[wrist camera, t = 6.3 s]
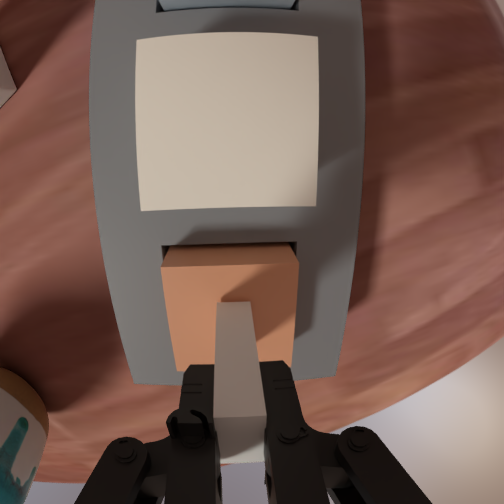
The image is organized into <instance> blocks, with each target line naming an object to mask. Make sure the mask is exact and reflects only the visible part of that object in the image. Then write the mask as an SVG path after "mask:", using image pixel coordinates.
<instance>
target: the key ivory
mask: <svg viewBox="0 0 504 504" xmlns="http://www.w3.org/2000/svg"><path fill="white" fill-rule="evenodd" d="M135 121H136V150H137V168H138V183H139V196H140V207H141V211H154V210H175V209H199V208H229V207H282V206H316V197H317V173H318V136H319V64H318V37H315V36H306V35H295V34H282V33H261V32H215V33H195V34H182V35H171V36H161V37H153V38H146V39H139V40H137V42H136V69H135Z"/></svg>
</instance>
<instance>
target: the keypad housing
mask: <svg viewBox="0 0 504 504" xmlns="http://www.w3.org/2000/svg"><path fill="white" fill-rule="evenodd" d="M215 32H261V33H282V34H295V35H306V36H315V37H318V64H319V136H318V173H317V197H316V206H282V207H229V208H199V209H175V210H154V211H141V207H140V196H139V183H138V168H137V150H136V121H135V69H136V42H137V40H139V39H146V38H153V37H161V36H171V35H182V34H195V33H215ZM89 126H90V149H91V164H92V176H93V187H94V197H95V205H96V213H97V221H98V228H99V235H100V241H101V248H102V254H103V259H104V265H105V270H106V275H107V280H108V285H109V290H110V295H111V299H112V304H113V308H114V312H115V317H116V321H117V325H118V329H119V333H120V336H121V340H122V344H123V348H124V351H125V355H126V358H127V362H128V365H129V368H130V372H131V375H132V378H133V381H134V384H152V385H182V381H183V374H184V372H185V371H177V369H176V363H175V358H174V353H173V347H172V341H171V336H170V330H169V324H168V317H167V311H166V304H165V297H164V290H163V283H162V275H161V265H162V263H163V260H164V258H165V256H166V254H167V252H168V249H169V247H170V245H190V244H222V243H256V242H288V243H289V245H290V247H291V249H292V250H293V252H294V254H295V256H296V258H297V260H298V262H299V274H298V289H297V304H296V317H295V329H294V341H293V352H292V363H291V367H290V369H291V372H292V376H293V381H295V380H305V379H315V378H323V377H331V376H335V375H336V370H337V365H338V361H339V356H340V351H341V345H342V340H343V335H344V329H345V324H346V318H347V312H348V306H349V299H350V293H351V286H352V279H353V272H354V264H355V256H356V248H357V239H358V229H359V219H360V208H361V196H362V182H363V165H364V143H365V58H364V37H363V22H362V9H361V0H295V2H294V3H293V5H292V7H291V9H290V10H283V9H267V8H206V9H190V10H178V11H169V12H165V11H164V9H163V8H162V6H161V4H160V2H159V0H95V8H94V17H93V27H92V38H91V52H90V74H89Z"/></svg>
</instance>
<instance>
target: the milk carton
mask: <svg viewBox="0 0 504 504" xmlns="http://www.w3.org/2000/svg"><path fill="white" fill-rule="evenodd" d="M16 90H17V89H16V86H15V84H14V81H13V79H12V76H11V74H10V71H9V69H8V66H7V63H6V61H5V58H4V55H3V53H2V50H1V47H0V107H1V106H2V105H3V104H4V103H5V102H6V101H7V100H8V99H9V98H10V97H11V96H12V95H13V93H14V92H15V91H16Z"/></svg>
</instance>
